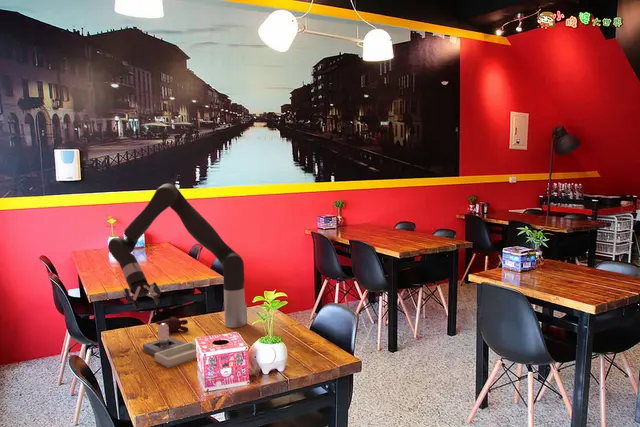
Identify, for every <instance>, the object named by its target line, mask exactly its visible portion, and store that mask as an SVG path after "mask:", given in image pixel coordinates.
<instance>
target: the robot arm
mask: <svg viewBox="0 0 640 427" xmlns="http://www.w3.org/2000/svg"><path fill="white" fill-rule="evenodd" d="M169 208H170V209H172V211H174V213H175V214H176V215H177V217H179V219H180V221H181V222H182V224H183V227H185V229H186V231H187V233H189V234H190V236H191V237H192V238H193V239H194V240H195V241H197V242H198V243H199V244H200V245H201V246H203V247H204V248H205V249H207V250H208V251H209V252H210V253H212V255H213V256H214V257H215V258H216V259H217V260H218V262H219V263H220V265H221V266H222V276H223V300H224V302H223V303H224V304H223V305H224V325H225V326H224V327H226V328H229V329H230V328H231V329H234V328H235V329H237V328H241V327H244V326H245V325H247V324H248V310H247V309H248V308H247V305H248V304H247V303H246V300H245V263H244V260H243V258H242V256H241V255H240V254H239V253H237V252H236V251H235V250H234V249H233V248H231V246H229V245H228V244H227V243H226V242H225V241H224V240H223V239H222V237H221V236H220V235H219V233H218V232H217V231H216V229H214V227H213V226H212V225H211V224H210V222H208V221H207V220H206V218H204V217H203V216H202V215H201V214H200V213H199V212H198V211H197V210H196V209H195V208H194V207H193V205H192V204H190V203H189V202H188V200H187V199H186V197H185V196H184V195H183V194H182V192H181V191H180V190H179V188H178V187H176V185H174V184H172V183H164V184H161V186H159V187H158V188H157V189H156V190H155V192H154V194H153V196H152V197H151V198H150V201H149V202H148V203H147V205H146V206H145V207H144V209H143V210H142V211H141V212H140V213H139V214H138V215H137V216H136V217H135V218H134V219H133V220H132V221H131V222H130V223H129V225H128V226H126V228H125V229H124V232H123V234H124V236H125V237H126V238H122V237H121V238H120V237H112V239H110V240H109V242H108V250H109V251H108V252H110V255H111V256H112V257H113V259H114V260H116V262H117V263H118V264H119V266H120V269H121V271H122V274H123V277H124V279H125V281H126V284H127V286H128V288H127V287H125V288H124V290H123V293H122V294H123V295H124V298H125V301H126V304H132V306H133V308H134V310H136V311H140V309H141V306H140V304H139V302H138V300H137V298H141V297H146V296H148V297H150V298H152V299H153V301H154V303H155V306H156V307H157V306H159V305H160V303H161V300H160V298H159V297H160V295H161V294H162V291H161V289H160V288H159V286H158V284H157V283H156V282H155V281H154V282H152V284H150V283H148V280H147V278H146V276H145V273H144V271H143V269H142V267H141V266H140V264H139V262H138V260H137V258H136V256H135V255H134V254H133V253H132V252H133V251H134V250H135V248H136V245H137V243H138V242H139V239H140V238H141V237H142V236H143V235H144V234H145V233H146V231H147V230H149V228H150V227H151V225H152V224H153V222H154V221H155V220H156V219H157V217H158V216H160V215H161V214H162V213H163V212H165V210H166V209H169ZM130 293H131V294H132V295H133V297H131V294H130Z"/></svg>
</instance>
